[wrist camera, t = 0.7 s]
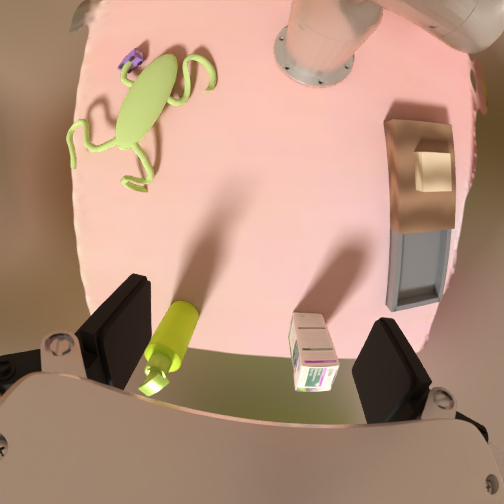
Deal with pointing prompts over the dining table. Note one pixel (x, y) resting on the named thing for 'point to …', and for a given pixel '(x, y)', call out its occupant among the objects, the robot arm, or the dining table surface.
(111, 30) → the dining table surface
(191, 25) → the dining table surface
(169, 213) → the dining table surface
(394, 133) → the board
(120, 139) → the figurine
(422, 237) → the box
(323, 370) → the syrup box
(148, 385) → the soap dispenser
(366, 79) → the dining table surface
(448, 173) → the tile
